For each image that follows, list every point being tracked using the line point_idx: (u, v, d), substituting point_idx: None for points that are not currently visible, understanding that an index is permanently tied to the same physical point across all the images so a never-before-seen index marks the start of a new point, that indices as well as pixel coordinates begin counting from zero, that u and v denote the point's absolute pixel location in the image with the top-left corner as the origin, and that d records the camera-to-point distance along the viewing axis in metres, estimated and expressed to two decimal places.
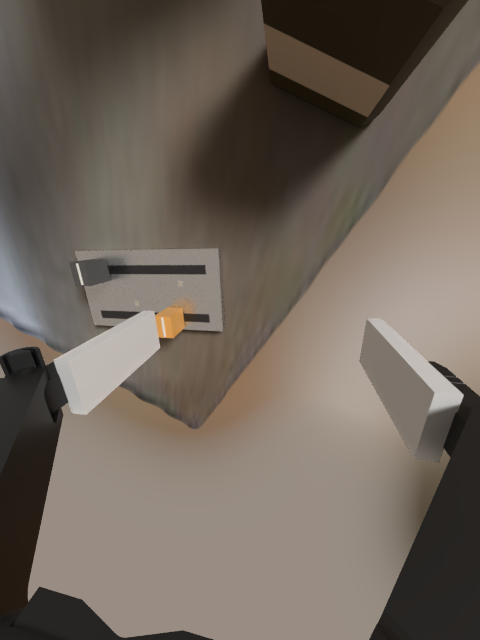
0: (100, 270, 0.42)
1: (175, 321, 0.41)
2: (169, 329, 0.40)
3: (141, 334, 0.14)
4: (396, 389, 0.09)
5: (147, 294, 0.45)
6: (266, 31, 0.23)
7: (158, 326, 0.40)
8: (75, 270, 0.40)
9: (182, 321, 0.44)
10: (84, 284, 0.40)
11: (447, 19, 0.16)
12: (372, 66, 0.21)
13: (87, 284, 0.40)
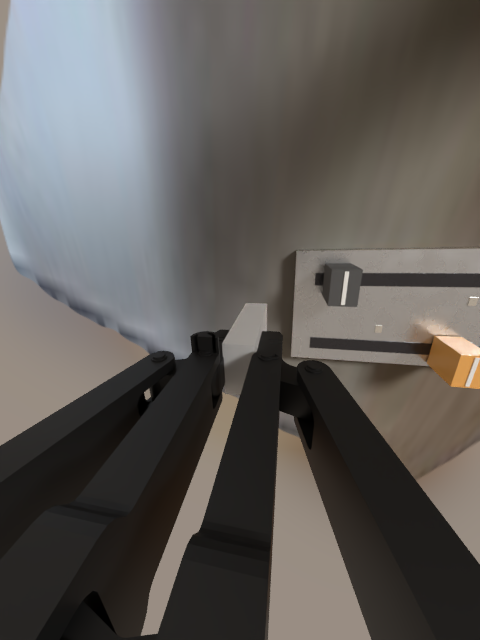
0: None
1: None
2: None
3: None
4: None
5: (402, 317, 0.30)
6: None
7: (461, 370, 0.26)
8: (339, 282, 0.25)
9: None
10: (346, 304, 0.25)
11: None
12: None
13: (352, 304, 0.25)
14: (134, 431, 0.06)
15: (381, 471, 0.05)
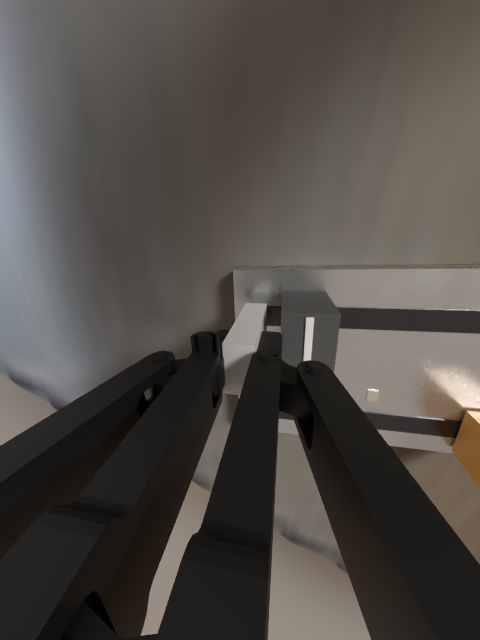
0: None
1: None
2: None
3: None
4: None
5: (412, 379, 0.18)
6: None
7: None
8: (296, 337, 0.13)
9: None
10: None
11: None
12: None
13: None
14: (134, 431, 0.06)
15: (381, 471, 0.05)
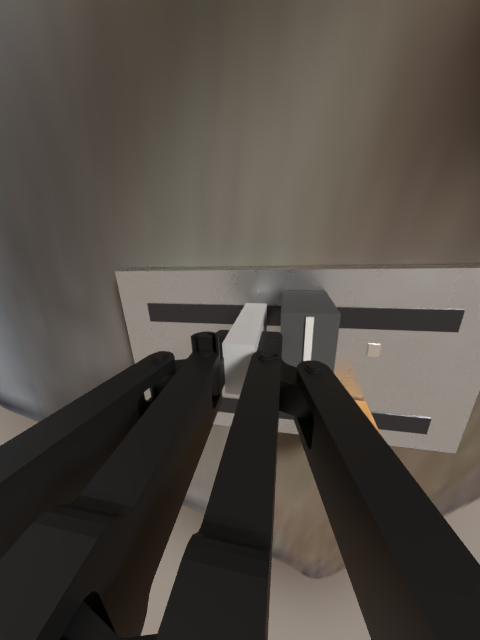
0: None
1: None
2: None
3: None
4: None
5: None
6: None
7: None
8: (296, 337, 0.13)
9: None
10: None
11: None
12: None
13: None
14: (134, 431, 0.06)
15: (381, 471, 0.05)
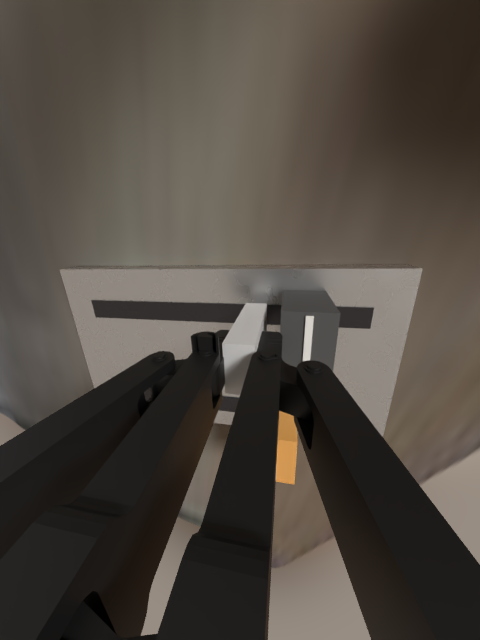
0: None
1: None
2: (288, 466, 0.16)
3: None
4: None
5: None
6: None
7: None
8: (295, 336, 0.13)
9: None
10: None
11: None
12: None
13: None
14: (134, 431, 0.06)
15: (381, 471, 0.05)
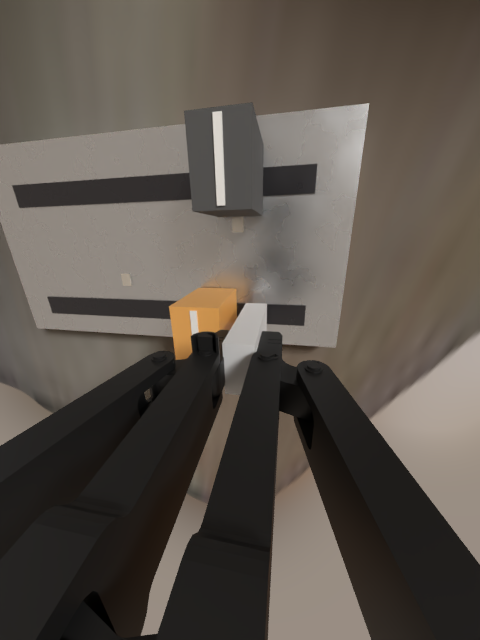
0: (259, 169, 0.13)
1: (226, 322, 0.15)
2: None
3: None
4: None
5: (151, 257, 0.18)
6: None
7: (181, 336, 0.14)
8: (205, 147, 0.11)
9: None
10: (228, 203, 0.11)
11: None
12: None
13: (241, 203, 0.11)
14: (134, 431, 0.06)
15: (381, 471, 0.05)
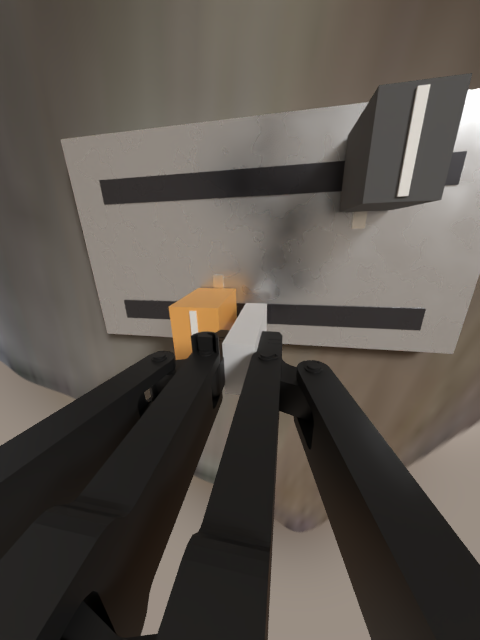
0: None
1: (225, 322, 0.15)
2: None
3: None
4: None
5: (251, 257, 0.17)
6: None
7: (180, 336, 0.14)
8: (396, 128, 0.09)
9: None
10: (411, 194, 0.10)
11: None
12: None
13: (428, 193, 0.10)
14: (134, 431, 0.06)
15: (381, 471, 0.05)
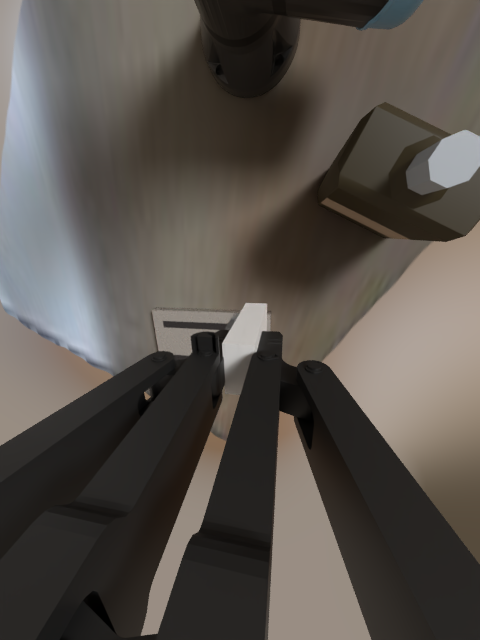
0: None
1: None
2: None
3: None
4: None
5: None
6: (327, 199, 0.34)
7: None
8: None
9: None
10: None
11: None
12: (399, 232, 0.32)
13: None
14: (134, 431, 0.06)
15: (381, 471, 0.05)
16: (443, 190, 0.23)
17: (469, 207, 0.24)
